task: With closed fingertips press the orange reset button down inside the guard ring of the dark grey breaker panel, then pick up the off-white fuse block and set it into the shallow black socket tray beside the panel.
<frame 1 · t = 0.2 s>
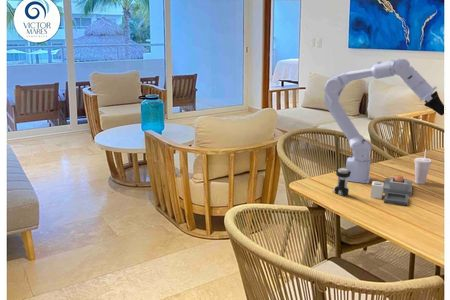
hand: (443, 112, 174), 31 cm above the table, tool tilted 45°, fingers open, 7 cm apart
breaker panel: (397, 189, 183), on the table
reset button: (398, 179, 180), point 5 cm above the table, slide at 0.0 cm
socket tray: (396, 200, 172), on the table
fuse block: (376, 196, 176), on the table
smoothie: (419, 183, 191), on the table
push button: (339, 194, 178), on the table
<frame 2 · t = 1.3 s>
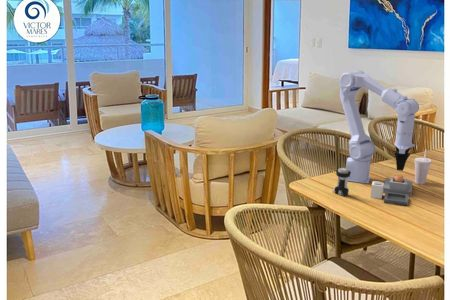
hand: (400, 167, 178), 10 cm above the table, tool pointing down, fingers open, 7 cm apart
nothing on the table moved.
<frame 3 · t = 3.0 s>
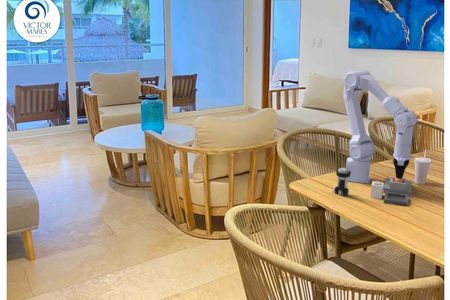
hand: (399, 178, 179), 6 cm above the table, tool pointing down, fingers closed, pressing on reset button
reset button: (398, 181, 180), point 4 cm above the table, slide at 0.6 cm, touching gripper
everything else where it was.
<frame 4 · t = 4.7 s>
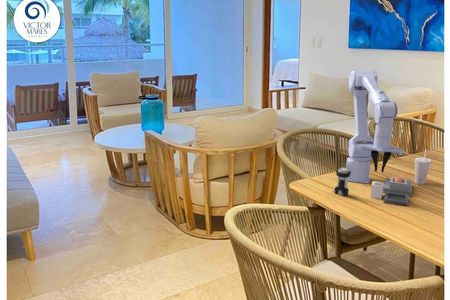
hand: (379, 171, 173), 10 cm above the table, tool pointing down, fingers closed
reset button: (398, 182, 180), point 4 cm above the table, slide at 1.0 cm
everything else where it was.
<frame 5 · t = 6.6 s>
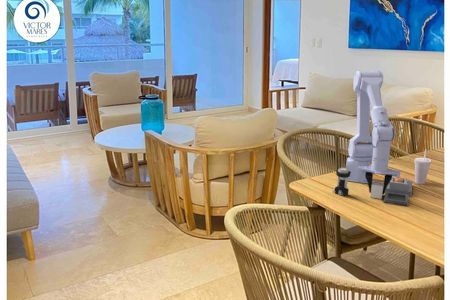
hand: (376, 192, 176), 1 cm above the table, tool pointing down, fingers closed on fuse block, 4 cm apart
fuse block: (376, 196, 176), on the table, touching gripper
everything else where it was.
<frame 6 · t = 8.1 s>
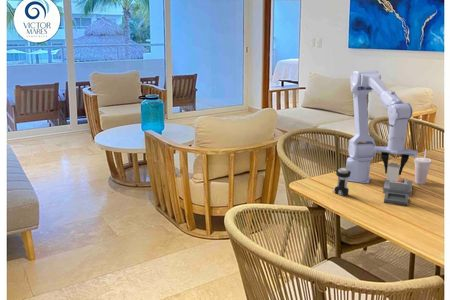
hand: (392, 173, 171), 10 cm above the table, tool pointing down, fingers closed on fuse block, 4 cm apart
fuse block: (392, 178, 171), point 8 cm above the table, touching gripper
everything else where it was.
when the fingers open (3 cm above the table, at t = 9.9 s): fuse block drops 1 cm, resting on socket tray.
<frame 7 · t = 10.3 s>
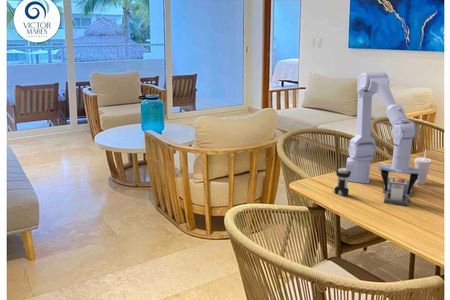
hand: (397, 191, 172), 3 cm above the table, tool pointing down, fingers open, 7 cm apart
fuse block: (396, 199, 172), resting on socket tray
everything else where it was.
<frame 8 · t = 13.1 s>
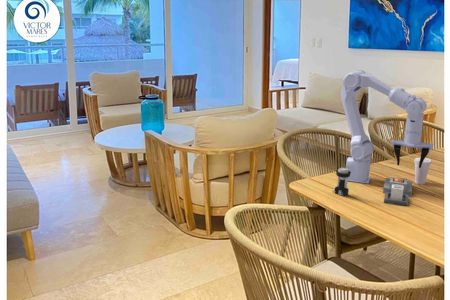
hand: (408, 165, 180), 10 cm above the table, tool pointing down, fingers open, 7 cm apart
nothing on the table moved.
at the end: reset button slide at 1.0 cm; fuse block 0.3 cm off-centre on the socket tray, point 0.4 cm above the socket tray's base; fuse block tilted 0° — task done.
